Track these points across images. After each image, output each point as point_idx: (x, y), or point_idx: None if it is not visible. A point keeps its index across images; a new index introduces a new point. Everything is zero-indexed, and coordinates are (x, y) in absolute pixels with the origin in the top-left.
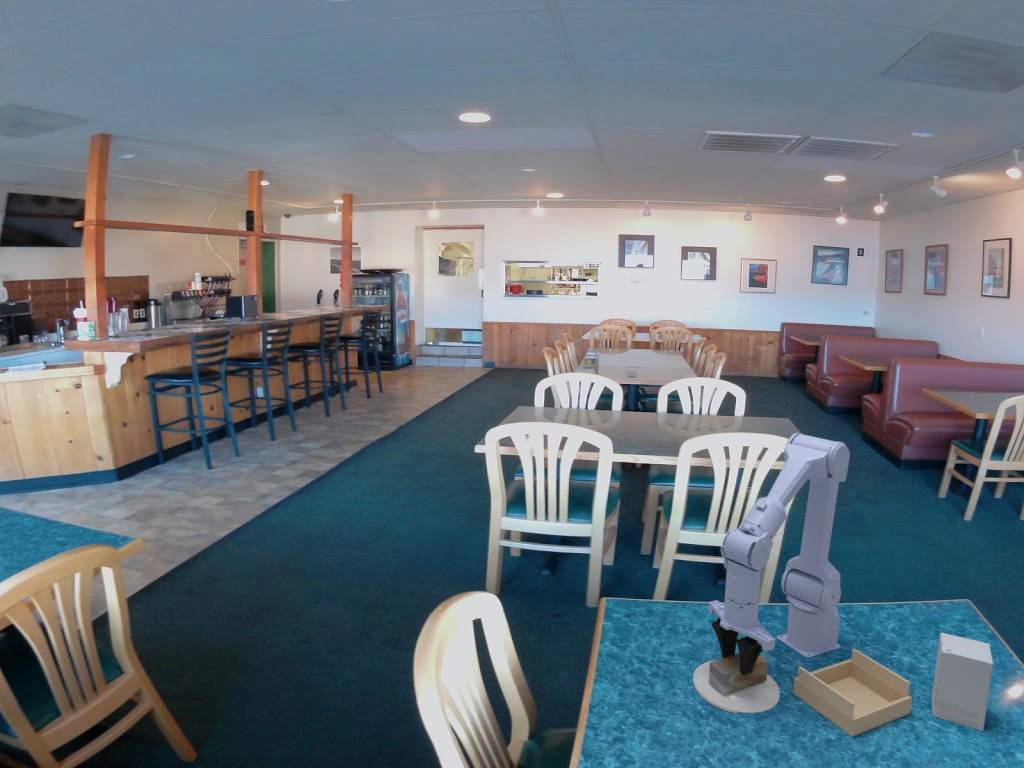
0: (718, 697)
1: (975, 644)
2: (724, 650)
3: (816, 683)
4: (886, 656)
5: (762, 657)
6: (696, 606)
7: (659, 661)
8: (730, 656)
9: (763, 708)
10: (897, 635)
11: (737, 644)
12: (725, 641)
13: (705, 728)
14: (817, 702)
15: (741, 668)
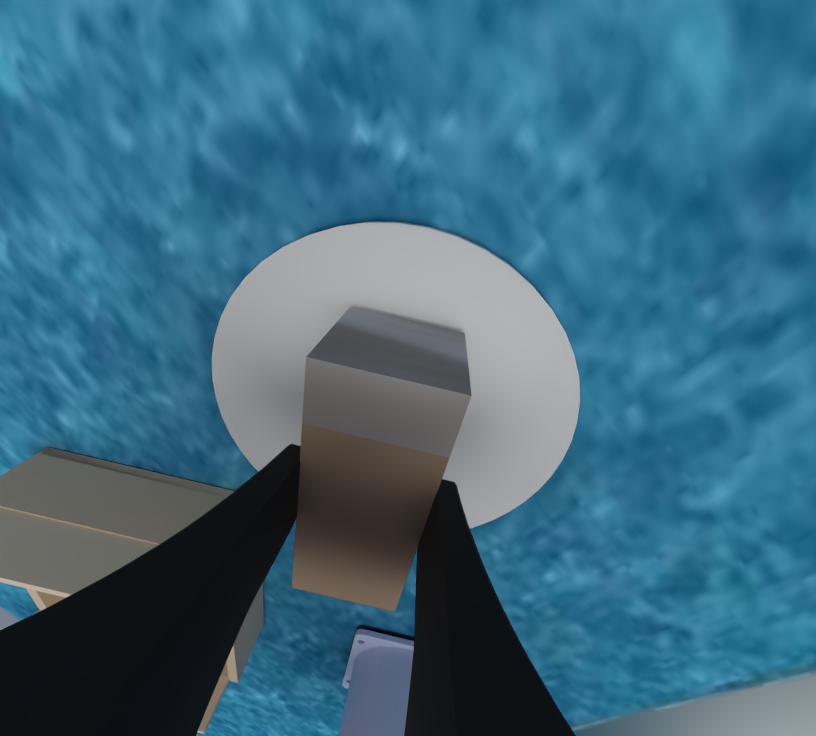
0: (363, 276)
1: None
2: (438, 539)
3: (91, 575)
4: (280, 690)
5: (321, 592)
6: (767, 668)
7: (800, 304)
8: (422, 521)
9: (218, 369)
10: (317, 732)
11: (101, 696)
12: (437, 624)
13: None
14: (140, 506)
15: (274, 468)
